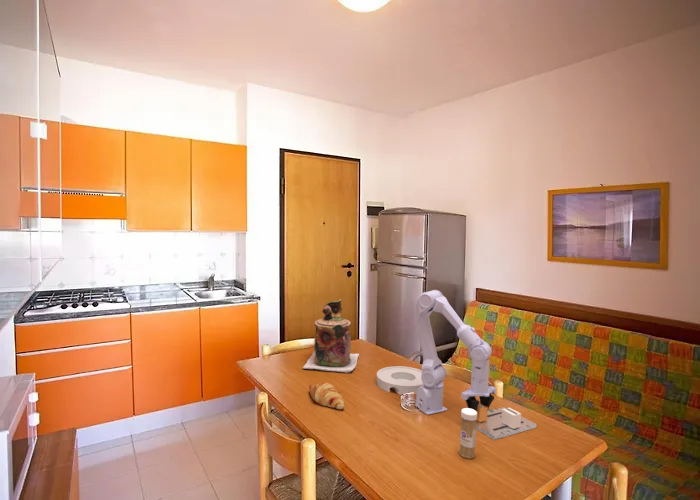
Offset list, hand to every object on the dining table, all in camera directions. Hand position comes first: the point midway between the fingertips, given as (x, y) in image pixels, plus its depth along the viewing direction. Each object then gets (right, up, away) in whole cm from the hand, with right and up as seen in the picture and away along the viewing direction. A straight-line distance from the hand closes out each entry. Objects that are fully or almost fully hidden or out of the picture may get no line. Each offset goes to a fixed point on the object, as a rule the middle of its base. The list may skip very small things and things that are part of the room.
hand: (478, 415), depth 137 cm
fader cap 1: (0, -1, 0) cm, 1 cm away
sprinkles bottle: (-10, -3, -20) cm, 23 cm away
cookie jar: (-54, +2, +56) cm, 78 cm away
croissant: (-54, 0, +13) cm, 56 cm away
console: (+7, -3, -1) cm, 8 cm away
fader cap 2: (+10, -1, -4) cm, 11 cm away
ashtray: (-22, -1, +33) cm, 39 cm away
